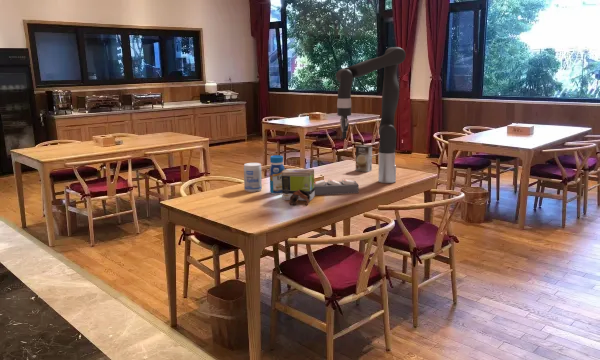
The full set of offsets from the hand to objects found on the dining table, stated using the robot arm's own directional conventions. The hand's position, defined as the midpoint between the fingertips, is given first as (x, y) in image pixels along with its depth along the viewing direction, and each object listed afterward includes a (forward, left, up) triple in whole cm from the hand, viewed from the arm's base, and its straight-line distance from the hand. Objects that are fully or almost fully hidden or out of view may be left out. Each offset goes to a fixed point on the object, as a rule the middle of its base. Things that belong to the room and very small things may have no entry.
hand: (344, 138), depth 276 cm
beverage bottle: (+38, +8, -27) cm, 47 cm away
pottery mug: (+29, +33, -27) cm, 52 cm away
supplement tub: (+51, 0, -27) cm, 58 cm away
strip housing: (+8, +12, -27) cm, 31 cm away
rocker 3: (0, +12, -22) cm, 26 cm away
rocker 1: (+16, +12, -22) cm, 30 cm away
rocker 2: (+8, +12, -22) cm, 27 cm away
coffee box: (-20, -38, -27) cm, 51 cm away
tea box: (+28, +21, -27) cm, 44 cm away
